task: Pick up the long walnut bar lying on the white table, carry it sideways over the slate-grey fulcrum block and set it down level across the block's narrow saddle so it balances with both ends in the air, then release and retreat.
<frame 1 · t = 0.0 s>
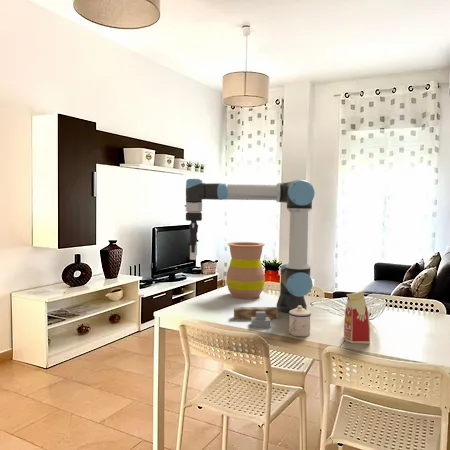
hand: (193, 257, 202), 28 cm above the table, fingers open, 13 cm apart
milk carton: (355, 340, 173), on the table
fulcrum: (260, 325, 190), on the table
vase: (245, 296, 248), on the table
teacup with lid: (297, 334, 179), on the table
walnut bar: (255, 318, 202), on the table
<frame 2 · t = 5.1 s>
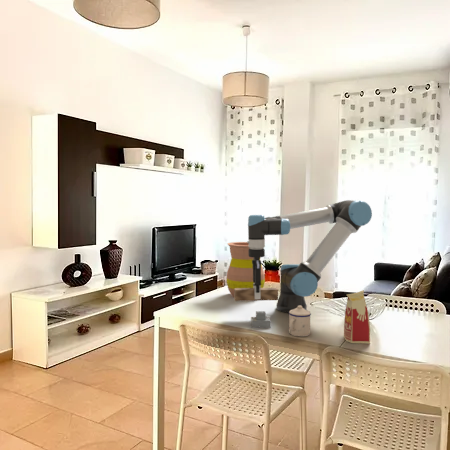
hand: (256, 297, 202), 10 cm above the table, fingers closed on walnut bar, 4 cm apart
walnut bar: (256, 299, 202), point 9 cm above the table, touching gripper
everything else where it was.
when the fingers open (5 cm above the table, at t = 9.9 s): walnut bar stays where it is, resting on fulcrum.
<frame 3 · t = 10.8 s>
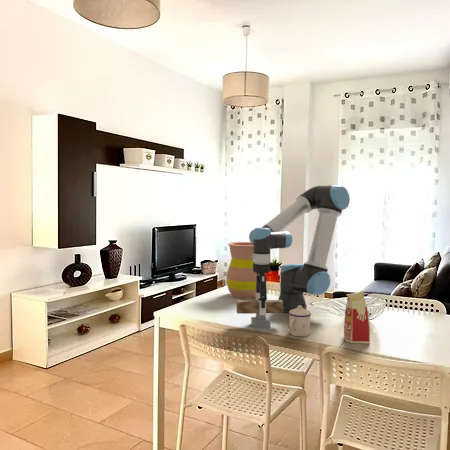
hand: (260, 311, 190), 7 cm above the table, fingers open, 13 cm apart
walnut bar: (259, 312, 190), point 6 cm above the table, touching fulcrum
everything else where it was.
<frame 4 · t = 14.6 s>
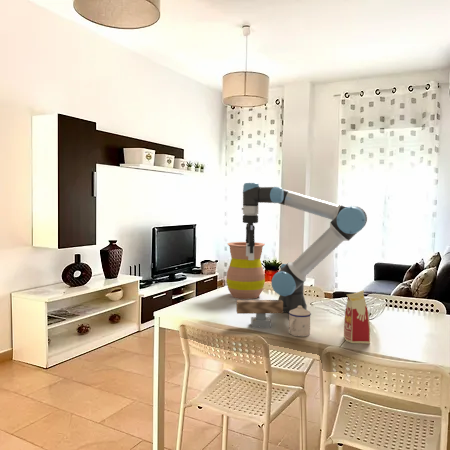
hand: (249, 258, 211), 27 cm above the table, fingers open, 13 cm apart
nothing on the table moved.
at the end: walnut bar 0.6 cm off-centre on the fulcrum, point 6.0 cm above the fulcrum's base; walnut bar tilted 0°; walnut bar touching fulcrum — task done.
